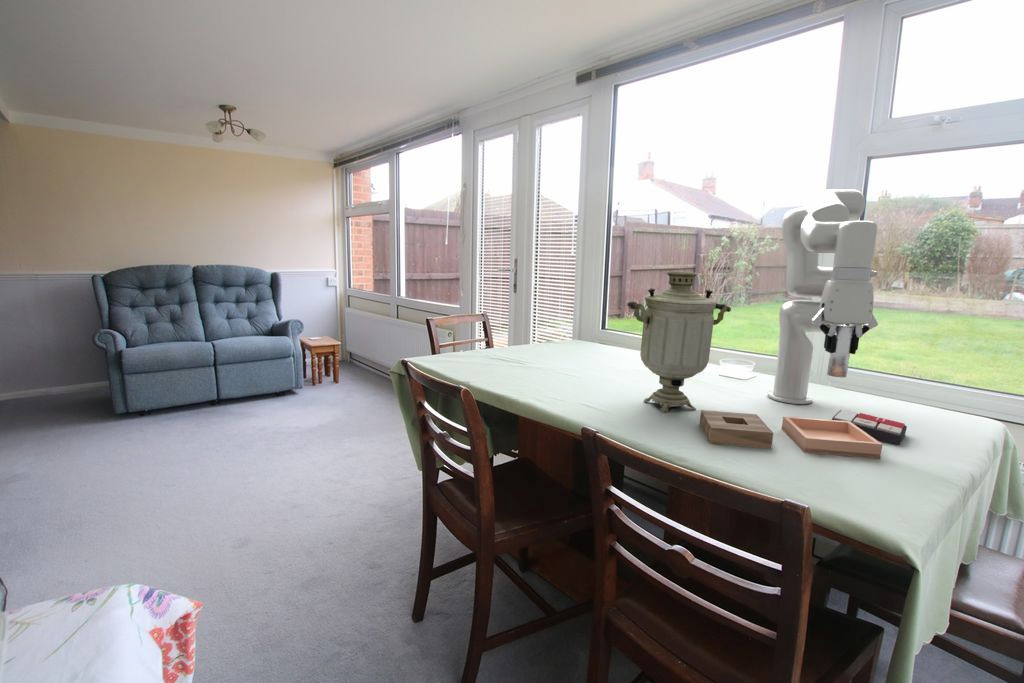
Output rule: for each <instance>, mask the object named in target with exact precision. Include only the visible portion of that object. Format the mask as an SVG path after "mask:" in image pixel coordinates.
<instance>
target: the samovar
mask: <svg viewBox="0 0 1024 683" xmlns="http://www.w3.org/2000/svg"><path fill="white" fill-rule="evenodd" d="M665 274H666V275H667V276H668V277H669V279H668V284H669V285H670V288H666V289H664V290H663V291H662V292H657V293H655V290H656V288H649V289H648V290H647V291H648V293H649V294H646V295H644V299H645V300H644V302H645V305H646V306H644V305H643V304H642V303H637V302H635V301H628V303H627V304H626V305H627V307H629V308H631V309H632V310H633V316H634V317H635V319H636V320H637V321H638V322H641V323H643V325H642V336H641V344H640V345H641V346H640V354H639V355H640V359H641V361H642V363H643V366H645V367H646V368H647V369H648V370H649V371H650V372H652V374H655V375H656V376H658V377H659V380H658V382H659V384H660V385H662V387H661V388H659V389H657V390H655V391H654V392H652V394H650V396H649V397H645V398H644V400H643V403H647V402H651V400H652V402H654V403H657V404H659V405H660V406H661V408H660V412H661V413H663V414H664V413H669V409H670V408H672V407H673V408H674V407H683V406H687V407H688V408H690V409H691V410H692V411H697V408H696V407H695V406H694V405H692V404H691V402H690V399H689V398H688V396H687V395H685V392H683V391H681V390H680V388H681V387H683V386H684V385H685V380H686V379H690V378H693V377H695V376H696V375H697V374H699V373H702V372H703V371H704V370H705V369H706V368H707V367H708V364H709V362H710V355H711V346H712V338H713V329H714V326H717V325H718V324H719V323H720V322H722V321H723V320H724V315H725V313H726V312H727V313H729V312H731V311H732V308H731V307H730V306H727V304H724V303H723V304H722V303H718V302H717V300H715V299H714V298H712V297H711V295H712V294H713V293H714V291H712V290H711V289H705V292H706V296H703V295H700V294H699V292H697V291H695V290H693V289H692V287H693V285H694V283H695V278H696V276H698V275H699V273H698V272H689V271H666V272H665ZM710 297H711V298H710ZM645 307H646V308H645ZM715 310H720V311H719V312H718V313H717V318H716V319H715V316H714V312H715Z"/></svg>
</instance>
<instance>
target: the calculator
mask: <svg viewBox="0 0 1024 683" xmlns="http://www.w3.org/2000/svg"><path fill="white" fill-rule="evenodd" d="M831 420H838V421H850V422H851V423H853V424H854V425H856V426H857V427H859V428H860V429H861V430H863V431H864V432H866V433H867V434H869V435H870V436H871V437H873V438H874V439H876V440H877V441H878V442H880V443H885V444H889V445H894V446H898V447H900V446H901V443H902V442H903V440H904V438H905V436H906V432H907V428H908V426H907V425H906V424H905V423H903V422H899V421H895V420H891V419H887V418H882V417H878V416H874V415H870V414H867V413H863V412H862V413H861V412H859V413H858V412H856V411H851V410H847V409H840V410H838V412H837V413H835V415H834V416H833V417H832V418H831Z"/></svg>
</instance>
